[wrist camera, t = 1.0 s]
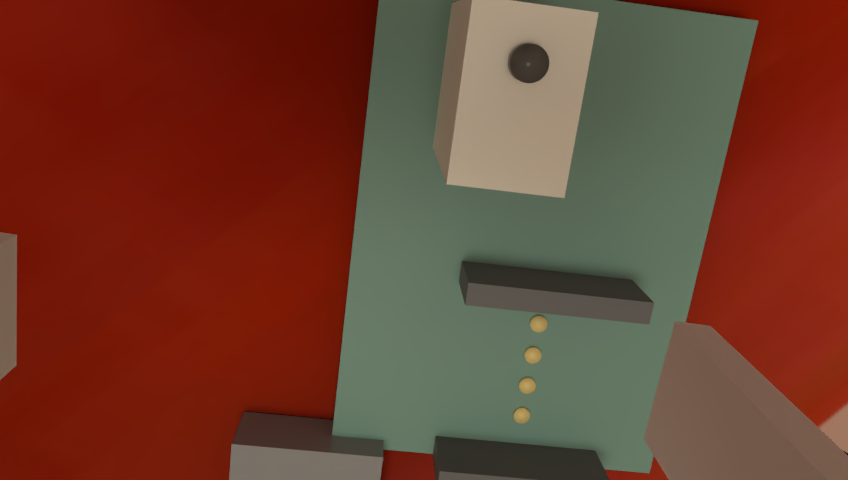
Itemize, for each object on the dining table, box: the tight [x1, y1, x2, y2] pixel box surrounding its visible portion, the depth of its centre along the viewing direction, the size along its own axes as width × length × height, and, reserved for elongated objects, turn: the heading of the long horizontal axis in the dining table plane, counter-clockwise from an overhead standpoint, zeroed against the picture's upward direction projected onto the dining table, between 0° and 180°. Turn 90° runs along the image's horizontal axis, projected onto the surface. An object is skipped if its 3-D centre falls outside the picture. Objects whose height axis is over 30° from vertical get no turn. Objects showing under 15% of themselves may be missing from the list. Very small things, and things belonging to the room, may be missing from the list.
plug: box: [433, 0, 599, 198], centre depth 27 cm, size 7×4×9 cm, turn 173°
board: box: [332, 0, 758, 480], centre depth 33 cm, size 23×16×4 cm
